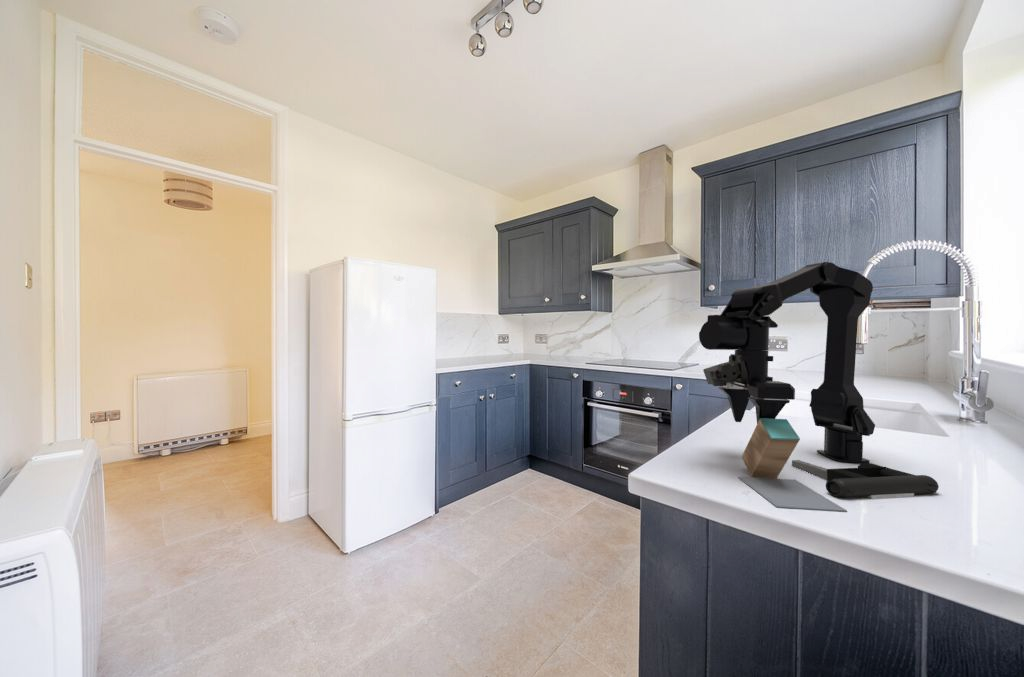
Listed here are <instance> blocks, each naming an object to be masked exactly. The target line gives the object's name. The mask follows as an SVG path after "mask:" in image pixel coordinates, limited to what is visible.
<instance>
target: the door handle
mask: <svg viewBox="0 0 1024 677" xmlns="http://www.w3.org/2000/svg"><path fill="white" fill-rule="evenodd" d="M792 466H793V467H792ZM791 467H792V468H794V467H796V468H795V469H797V468H798V469H797V470H799V469H801V470H800V471H802V470H804V471H806V472H805V473H807V472H808V473H807V474H809V473H810V475H812V474H813V475H812V476H814V475H815V476H814V477H817V476H818V477H817V478H819V477H820V479H823V480H824V479H825V480H824V481H826V483H825V488H826V491H827V492H828V494H829V495H830V496H832V497H838V498H843V499H847V498H850V499H851V498H865V497H866V498H870V499H873V500H874V499H875V500H876V499H886V498H887V499H888V498H907V497H908V498H909V497H915V495H925V494H935V493H936V494H937V493H938V492H937V491H939V487H940V486H939V483H938V482H937V480H936V479H934V478H933V477H931V476H929V475H925V474H918V475H917V474H913V473H909V472H904V471H902V470H898V469H894V468H890V467H887V466H882V465H878V464H875V463H871V462H870V463H860V464H859V465H858V466H857V467H846V468H844V467H841V468H826V467H822V466H819V465H817V464H813V463H809V462H807V461H804V460H801V459H794V460H793V459H792V460H791ZM804 471H803V472H804Z"/></svg>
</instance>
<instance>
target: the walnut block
mask: <svg viewBox="0 0 1024 677" xmlns="http://www.w3.org/2000/svg"><path fill="white" fill-rule="evenodd" d="M800 440H801V438H800V437H799V434H798V433H797V432H796V431H795V429H794V428H793V426H792V425H791V423H790V422H789V420H788V419H786V418H775V419H768V418H760V419H759V422H758V424H757V423H756V426H755V428H754V430H753V432H752V434H751V436H750V439H749V441H748V443H747V445H746V447H745V449H744V451H743V453H742V455H741V459H742V461H743V463H744V465H745V467H746V469H747V471H748V473H749V476H750V477H755V478H774V479H778V477H779V475H780V474H781V472H782V471H783V469H784V467H785V465H786V464H787V462H788V460H789V459H790V457H791V456H792V454H793V452H794V451H795V448H796V447H797V445H798V443H799V442H800Z"/></svg>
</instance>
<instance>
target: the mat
mask: <svg viewBox="0 0 1024 677" xmlns="http://www.w3.org/2000/svg"><path fill="white" fill-rule="evenodd" d="M737 479H738V480H740V481H742V482H743V483H745V484H746V485H747V486H748V487H750V488H751V489H752V490H754V491H755V492H756V493H757V494H759V495H760V496H761V497H762V498H763V499H765V500H766V501H767V502H769V503H770V504H771V505H772V506H774V507H775V508H779V509H793V510H794V509H795V510H810V511H811V510H813V511H828V512H842V513H843V512H845V513H848V510H847V509H845V508H844V507H842V506H841V505H838V503H835V502H834V501H832V500H830V499H829V498H827V497H825V496H824V495H822V494H821V493H819V492H817V491H815V490H814V489H812V488H810V487H808V485H805V484H803V483H802V482H800V481H798V480H796V479H792V478H790V479H788V478H760V477H751V476H750V477H749V476H737Z"/></svg>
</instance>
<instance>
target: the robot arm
mask: <svg viewBox="0 0 1024 677" xmlns="http://www.w3.org/2000/svg"><path fill="white" fill-rule="evenodd" d="M873 289H874V286H873V282H872V281H871V280H870V279H869V278H867V277H866V276H864V275H863V274H861V273H859V272H858V271H855V270H852V269H847V268H844V267H840V266H838V265H837V264H835V263H833V262H830V261H822V262H817V263H811V264H807V265H805V266H803V267H802V268H800V269H798V270H796V271H794V272H791V273H788V274H787V275H784V276H782V277H779V278H778V279H775V280H773V281H771V282H769V283H766V284H761V285H756V286H750V287H745V288H741V289H737V290H735V291H733V293H731V297H730V300H729V301H728V303H727V305H726V306H725V307H724V309H723V310H722V312H721V314H709V315H707V321H705V322H704V323H703V325H702V326H701V328H700V331H699V333H698V338H699V343H700V344H701V346H702V347H703V348H705V349H706V350H711V351H712V350H713V351H715V350H716V351H718V350H720V351H730V350H731V351H734V353H733V354H732V353H731V354H730V355H729V356H728V361H726V362H722V363H719V364H715V365H712V366H709V367H706V368H703V369H702V371H703V374H704V376H705V379H706V383H707V384H708V385H712V386H713V387H717V388H718V390H720V391H721V392H723V393H724V395H726V397H727V399H728V403H729V406H730V409H731V413H732V415H733V419H734V422H735V423H741V422H742V420H743V419H744V416H745V413H746V411H747V407H748V404H749V402H750V401H751V403H752V404H753V405H754V406H755V417H756V418H755V419H756V425H757V424H758V422H759V419H760V418H768V419H777V416H778V415H779V414H780V412H781V411H782V410H783V409H784V407H785V406H786V404H790V402H791V401H790V400H793V401H794V400H795V399H796V388H794V386H793V385H792V384H791V383H788V382H782V381H778V380H774V377H773V376H769V362H774V355H769V347H770V346H769V341H770V340H769V339H770V337H769V336H770V329H771V328H772V329H776V328H778V326H779V325H778V323H776V321H774V320H773V319H772V318H771V317H770V315H772V314H773V313H775V312H776V311H777V310H779V309H780V308H781V307H782V306H783V304H784V302H785V301H786V300H787V299H789V298H792V297H793V296H795V295H798V294H801V293H802V292H804V291H806V290H809V291H810V293H812V294H813V295H815V296H817V297H818V301H819V307H820V308H821V310H822V311H823V313H824V314H825V316H826V317H827V322H826V323H827V325H826V342H825V356H824V357H825V358H824V371H823V382H822V383H821V384H820V385H819V386H818V387H817V388H812V390H811V391H810V397H811V398H810V402H809V407H810V412H811V414H812V418H813V422H814V425H815V426H817V427H821V428H824V439H823V449H822V450H821V449H816V453H817V452H818V454H820V455H822V456H825V457H826V458H829V459H831V460H833V461H836V462H840V463H841V462H844V463H845V462H846V463H860V464H862V463H871V462H870V460H868V459H866V458H863V453H864V451H863V450H864V441H863V436H865V437H870V436H871V435H873V434H874V431H875V427H876V424H875V423H874V421H873V419H871V417H870V416H869V414H868V413H867V411H866V410H865V408H864V398H863V396H862V395H861V393H860V391H859V390H858V389H857V387H856V385H855V370H856V354H857V339H858V325H859V317H860V316H861V315H862V314H863V313H864V312H865V311H866V310H867V308H868V307H869V306H870V301H871V296H872V293H873ZM749 400H750V401H749Z"/></svg>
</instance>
